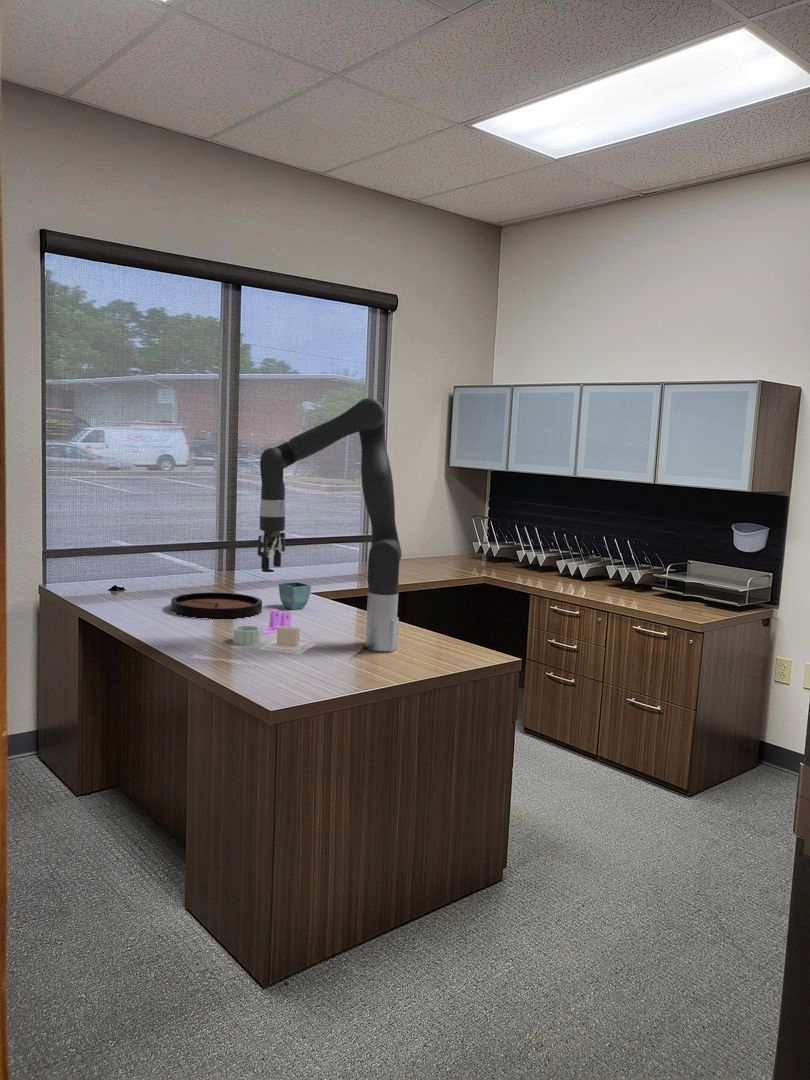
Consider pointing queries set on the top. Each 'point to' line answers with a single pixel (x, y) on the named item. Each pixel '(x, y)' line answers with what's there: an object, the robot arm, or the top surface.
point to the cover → (287, 640)
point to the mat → (288, 651)
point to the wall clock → (216, 605)
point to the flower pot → (294, 594)
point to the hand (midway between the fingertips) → (271, 568)
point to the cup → (247, 635)
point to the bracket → (277, 621)
